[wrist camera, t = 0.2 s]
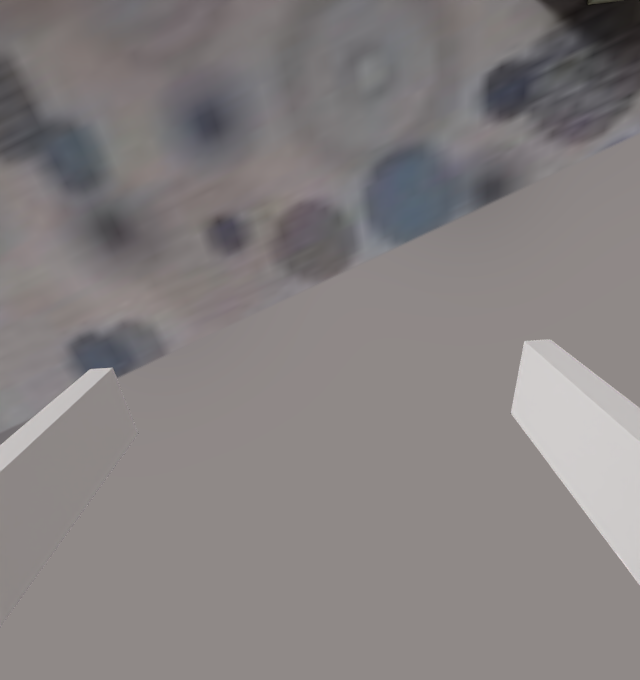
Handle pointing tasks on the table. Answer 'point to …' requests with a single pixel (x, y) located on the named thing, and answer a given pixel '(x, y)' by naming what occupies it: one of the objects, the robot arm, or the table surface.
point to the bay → (600, 1)
